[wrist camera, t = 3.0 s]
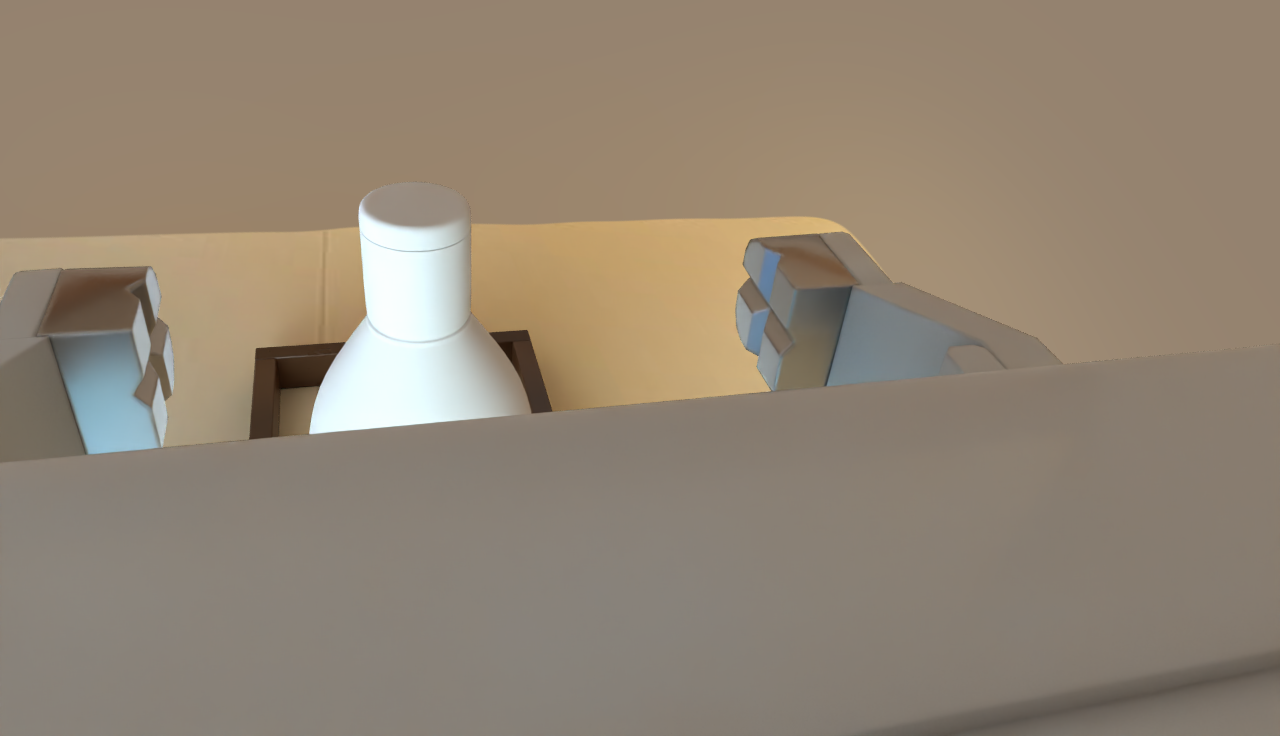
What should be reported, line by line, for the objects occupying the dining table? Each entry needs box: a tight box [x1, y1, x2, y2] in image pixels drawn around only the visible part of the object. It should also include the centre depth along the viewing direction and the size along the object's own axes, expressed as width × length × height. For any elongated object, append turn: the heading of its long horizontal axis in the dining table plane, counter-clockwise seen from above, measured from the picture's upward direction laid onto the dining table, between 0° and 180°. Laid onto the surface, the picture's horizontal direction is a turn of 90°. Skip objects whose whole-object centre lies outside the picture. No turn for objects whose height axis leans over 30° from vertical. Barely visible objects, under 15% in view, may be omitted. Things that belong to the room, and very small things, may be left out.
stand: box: [249, 330, 552, 440], centre depth 47 cm, size 13×14×2 cm
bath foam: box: [310, 182, 531, 434], centre depth 32 cm, size 7×7×20 cm
